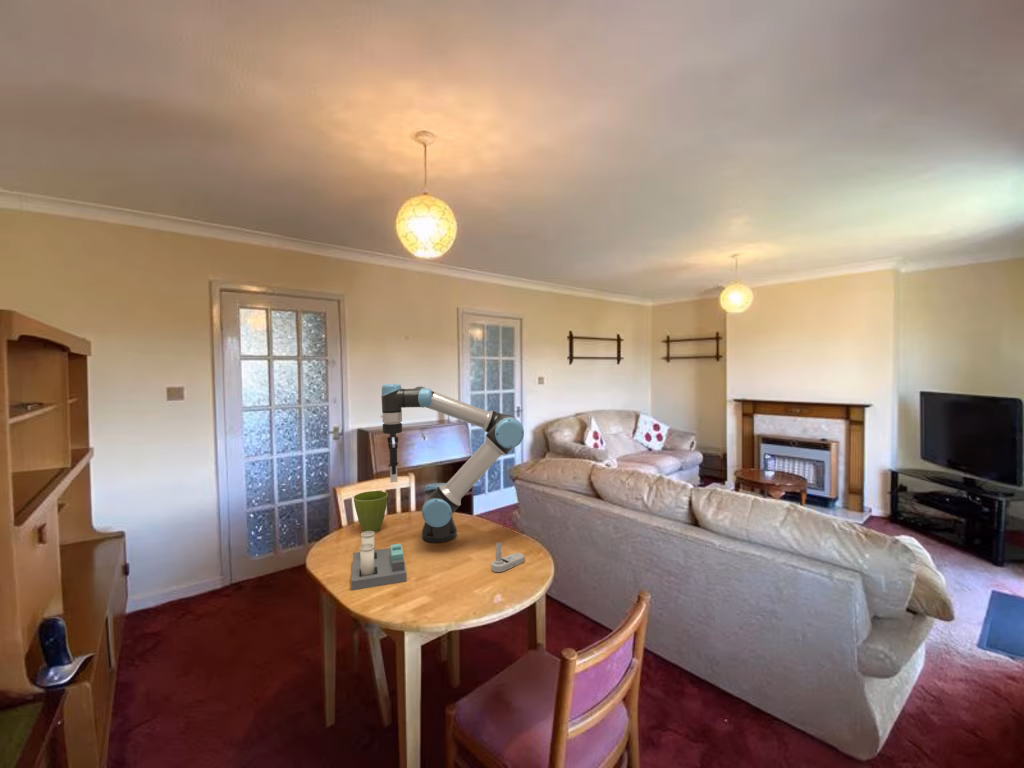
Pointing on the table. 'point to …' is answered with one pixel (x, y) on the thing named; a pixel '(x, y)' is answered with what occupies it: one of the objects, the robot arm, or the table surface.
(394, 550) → the lid
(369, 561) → the cream peg
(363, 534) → the white cylinder
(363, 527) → the flower pot
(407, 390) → the robot arm
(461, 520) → the table surface
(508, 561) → the electronic device
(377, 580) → the housing
